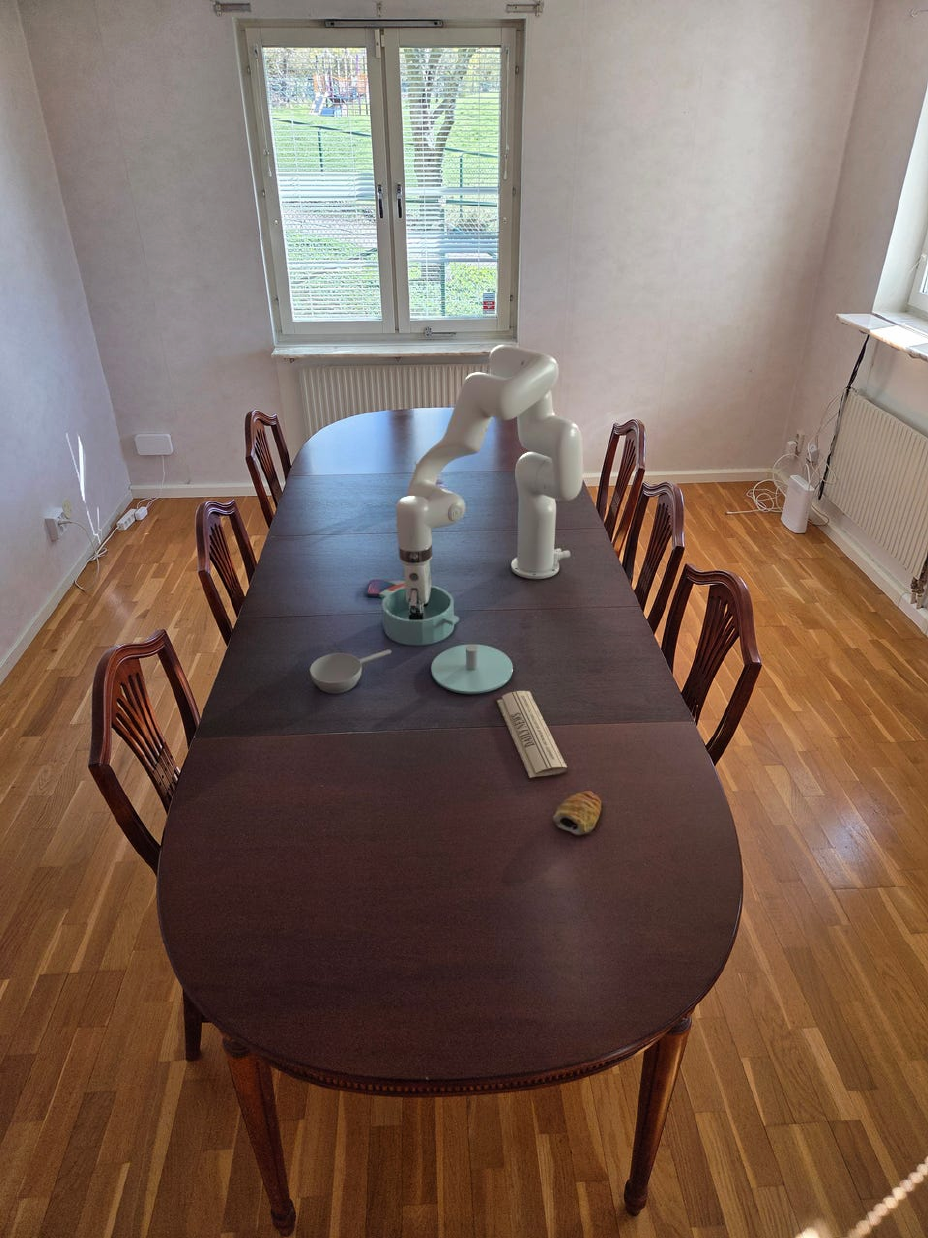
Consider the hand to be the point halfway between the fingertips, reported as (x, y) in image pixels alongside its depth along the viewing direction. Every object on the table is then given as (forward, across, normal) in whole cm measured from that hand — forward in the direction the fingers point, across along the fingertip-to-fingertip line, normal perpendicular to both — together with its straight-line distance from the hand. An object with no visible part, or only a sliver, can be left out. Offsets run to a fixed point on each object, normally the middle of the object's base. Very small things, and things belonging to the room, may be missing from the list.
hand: (418, 616), depth 191 cm
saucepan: (+3, -21, +12) cm, 24 cm away
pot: (+3, 0, 0) cm, 3 cm away
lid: (+2, -18, -13) cm, 22 cm away
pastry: (+3, -60, -34) cm, 69 cm away
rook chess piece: (+2, 0, 0) cm, 2 cm away
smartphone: (+3, +16, +7) cm, 18 cm away
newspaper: (+3, -38, -26) cm, 46 cm away
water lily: (+3, +80, +5) cm, 80 cm away
